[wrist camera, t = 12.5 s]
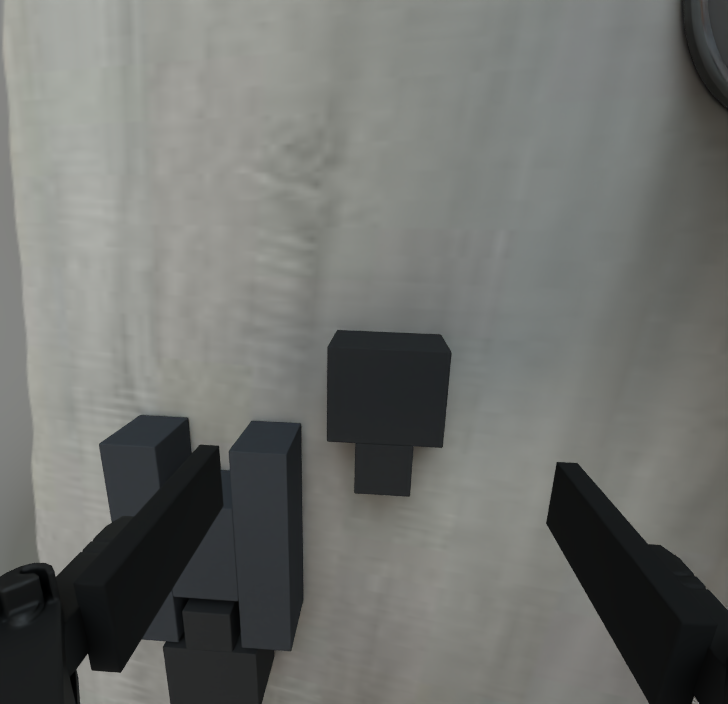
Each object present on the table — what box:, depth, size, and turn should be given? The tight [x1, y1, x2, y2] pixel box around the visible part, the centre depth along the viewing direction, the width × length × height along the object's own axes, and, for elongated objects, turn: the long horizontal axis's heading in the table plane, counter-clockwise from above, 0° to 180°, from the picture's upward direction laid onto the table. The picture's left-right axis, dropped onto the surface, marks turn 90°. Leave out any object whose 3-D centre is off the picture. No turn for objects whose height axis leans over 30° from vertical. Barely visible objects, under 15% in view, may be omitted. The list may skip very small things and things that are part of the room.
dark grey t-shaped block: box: [327, 330, 451, 497], centre depth 26 cm, size 7×10×4 cm
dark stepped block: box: [163, 598, 274, 704], centre depth 32 cm, size 7×10×4 cm
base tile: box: [99, 415, 303, 651], centre depth 29 cm, size 12×16×4 cm
